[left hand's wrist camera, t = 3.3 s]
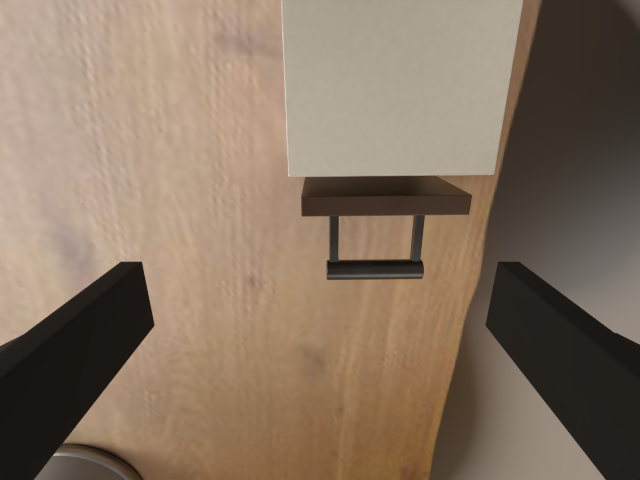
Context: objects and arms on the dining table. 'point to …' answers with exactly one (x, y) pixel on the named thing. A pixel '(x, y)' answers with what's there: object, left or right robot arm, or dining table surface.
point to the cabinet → (396, 85)
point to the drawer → (380, 200)
